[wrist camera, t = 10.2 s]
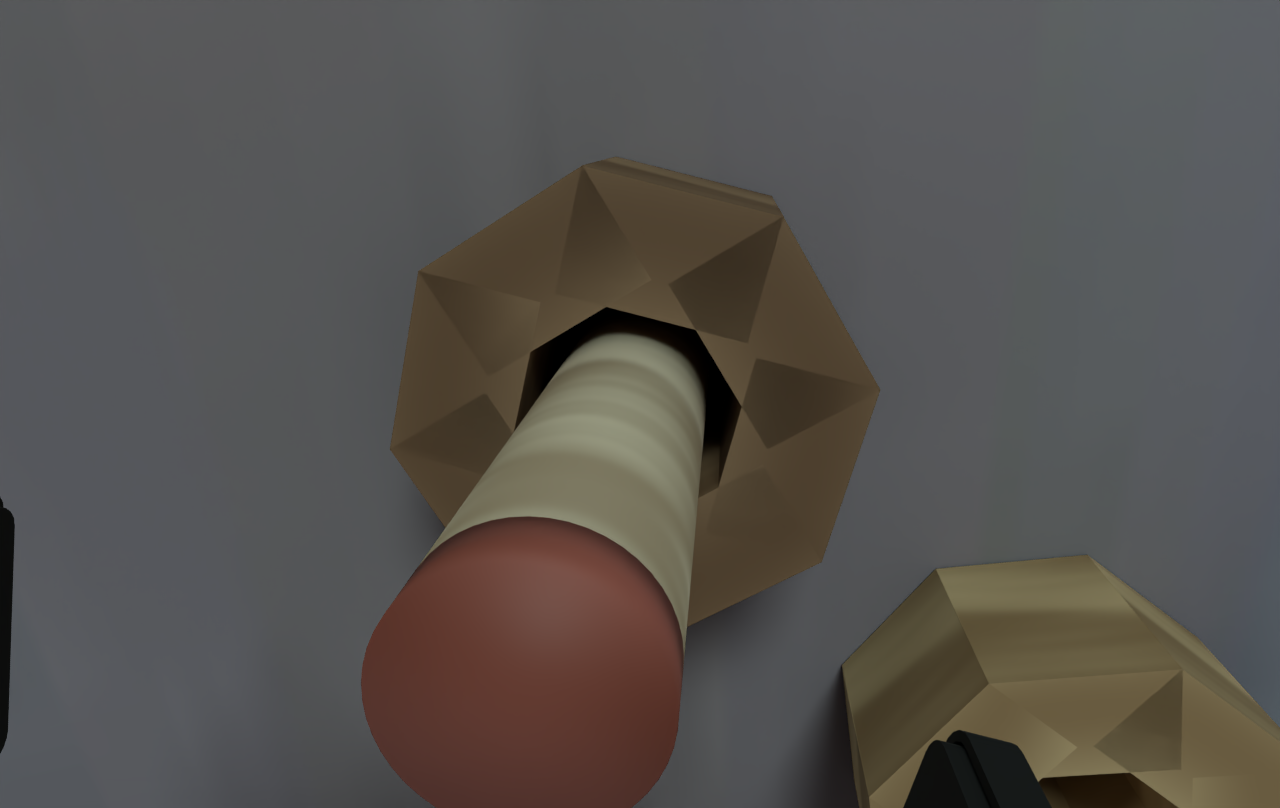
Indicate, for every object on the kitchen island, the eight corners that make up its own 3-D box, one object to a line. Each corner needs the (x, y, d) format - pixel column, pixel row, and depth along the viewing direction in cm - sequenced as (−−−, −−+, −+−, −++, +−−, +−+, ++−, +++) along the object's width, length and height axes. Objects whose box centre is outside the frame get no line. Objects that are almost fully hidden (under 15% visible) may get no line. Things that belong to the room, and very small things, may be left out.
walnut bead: (773, 560, 23) (784, 671, 19) (444, 474, 24) (371, 562, 19) (882, 224, 21) (927, 253, 16) (507, 128, 21) (440, 129, 16)
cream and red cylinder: (692, 432, 23) (636, 870, 9) (570, 401, 23) (342, 790, 9) (725, 312, 22) (716, 609, 8) (597, 280, 22) (385, 524, 8)
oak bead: (1192, 838, 25) (1301, 1007, 20) (862, 854, 26) (891, 1017, 21) (1198, 544, 22) (1326, 658, 17) (832, 578, 23) (858, 693, 19)
